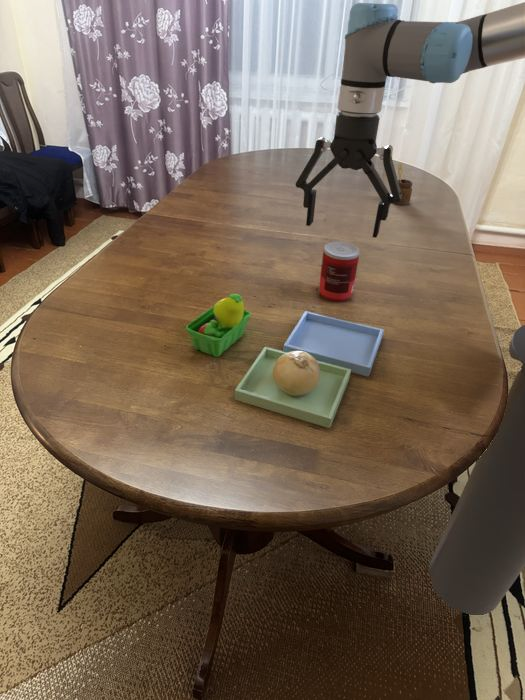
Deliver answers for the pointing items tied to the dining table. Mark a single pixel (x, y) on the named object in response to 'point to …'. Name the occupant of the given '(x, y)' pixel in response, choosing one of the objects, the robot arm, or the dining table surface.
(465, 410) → the dining table surface
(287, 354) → the onion
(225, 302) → the fruit basket
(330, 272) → the canned food
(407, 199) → the utensil holder
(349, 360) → the blue tray
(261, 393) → the green tray
